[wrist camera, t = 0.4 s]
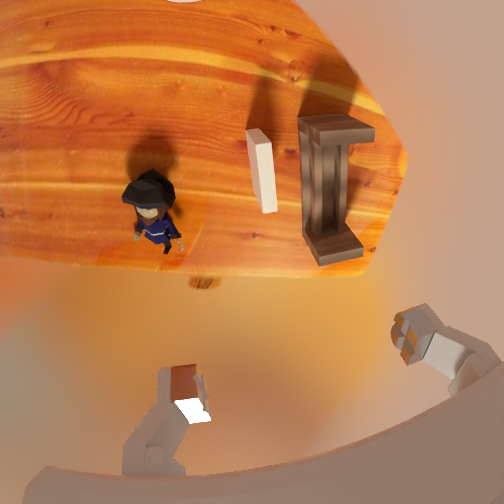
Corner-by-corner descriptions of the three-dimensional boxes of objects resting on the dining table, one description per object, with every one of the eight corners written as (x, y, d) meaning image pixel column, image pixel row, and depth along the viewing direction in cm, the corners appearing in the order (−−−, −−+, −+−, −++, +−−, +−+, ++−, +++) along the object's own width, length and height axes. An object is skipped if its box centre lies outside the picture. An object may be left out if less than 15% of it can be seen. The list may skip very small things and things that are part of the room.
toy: (133, 252, 48) (108, 187, 36) (147, 225, 51) (129, 159, 39) (182, 262, 47) (167, 194, 35) (194, 233, 51) (184, 164, 39)
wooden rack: (297, 117, 40) (319, 131, 33) (344, 113, 40) (374, 128, 33) (302, 235, 53) (319, 266, 46) (341, 227, 54) (362, 256, 47)
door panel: (245, 129, 40) (255, 144, 34) (258, 127, 40) (271, 142, 34) (253, 189, 46) (263, 213, 40) (265, 186, 46) (277, 211, 40)
